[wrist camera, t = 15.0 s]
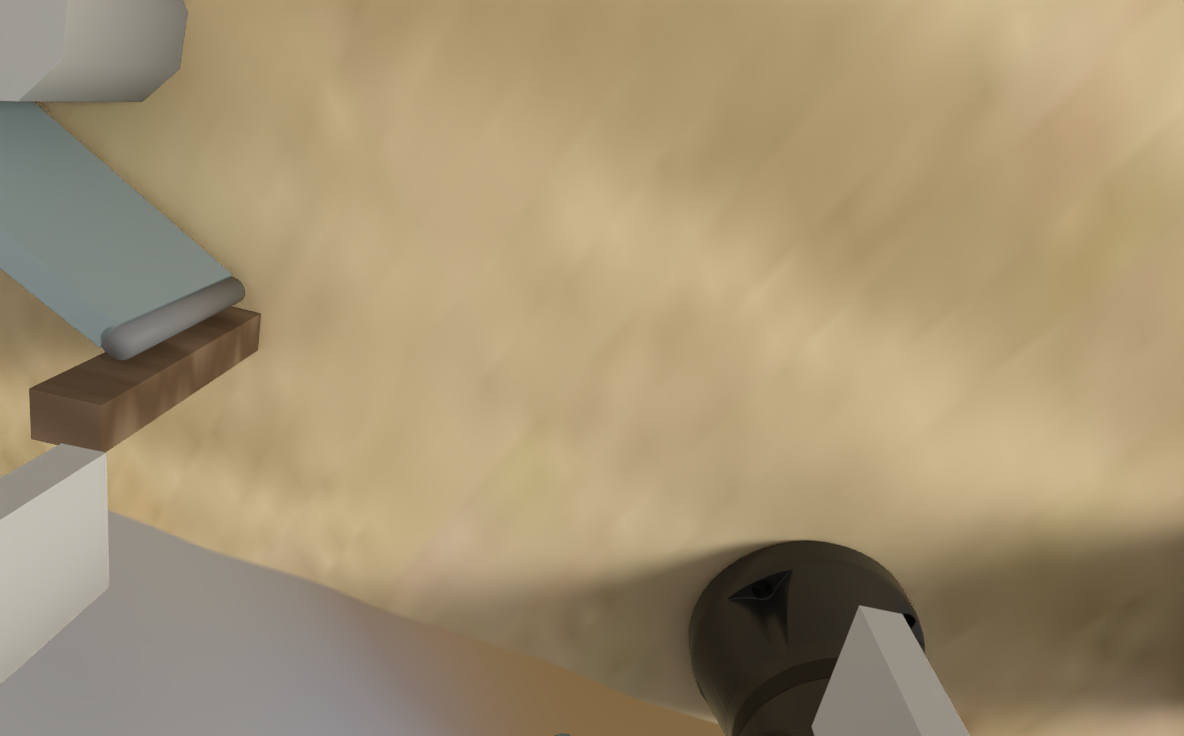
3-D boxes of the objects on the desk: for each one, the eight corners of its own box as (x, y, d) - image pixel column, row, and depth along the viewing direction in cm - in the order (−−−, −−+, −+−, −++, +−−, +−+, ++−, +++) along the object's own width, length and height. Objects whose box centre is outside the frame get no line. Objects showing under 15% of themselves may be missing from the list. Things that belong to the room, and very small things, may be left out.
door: (250, 290, 42) (142, 344, 33) (219, 326, 43) (105, 389, 33) (-90, -5, 37) (-330, -41, 28) (-116, 43, 38) (-358, 24, 29)
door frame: (257, 350, 44) (101, 455, 31) (209, 338, 44) (31, 439, 31) (318, -390, 32) (101, -738, 19) (251, -410, 32) (-16, -774, 18)
